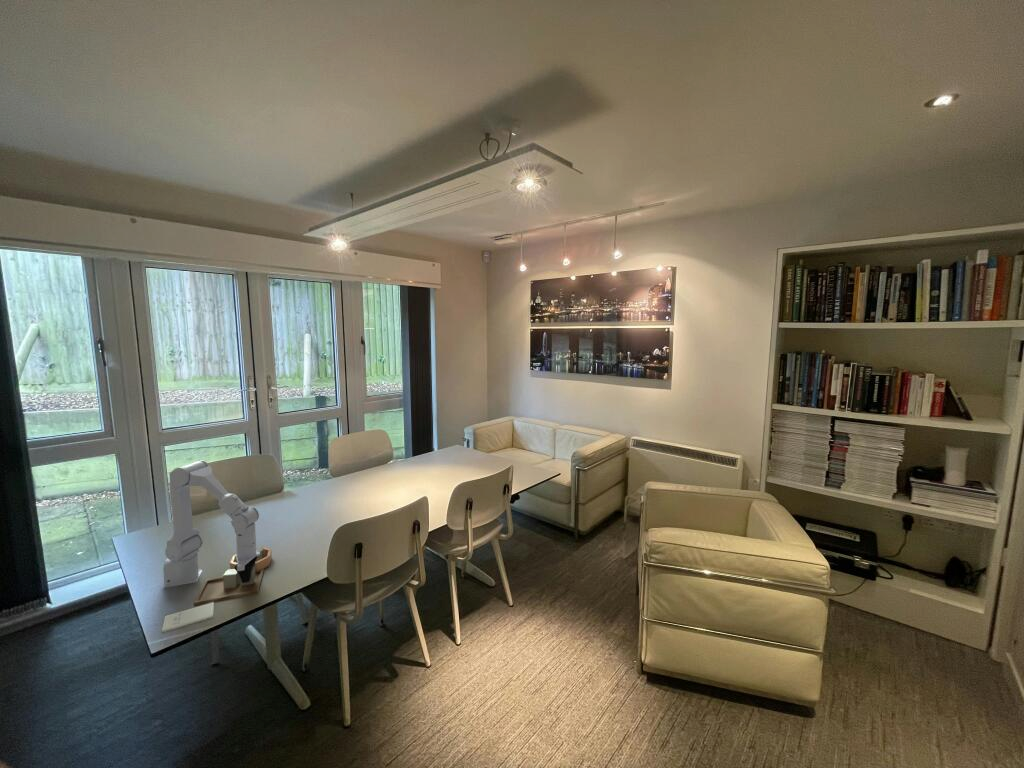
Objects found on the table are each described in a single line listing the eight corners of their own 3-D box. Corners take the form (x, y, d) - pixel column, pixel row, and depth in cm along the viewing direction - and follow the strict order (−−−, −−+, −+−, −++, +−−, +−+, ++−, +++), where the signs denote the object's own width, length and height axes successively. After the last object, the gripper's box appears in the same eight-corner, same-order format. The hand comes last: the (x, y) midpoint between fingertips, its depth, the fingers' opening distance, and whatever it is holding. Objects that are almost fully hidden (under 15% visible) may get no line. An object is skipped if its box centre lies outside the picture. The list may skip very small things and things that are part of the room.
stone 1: (223, 588, 142) (222, 575, 141) (228, 582, 145) (227, 569, 144) (236, 587, 142) (235, 574, 142) (240, 581, 146) (240, 568, 145)
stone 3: (250, 564, 156) (249, 552, 156) (252, 560, 159) (251, 548, 159) (262, 562, 158) (261, 550, 157) (263, 558, 161) (263, 546, 160)
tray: (194, 606, 133) (193, 602, 132) (205, 583, 145) (205, 579, 145) (257, 594, 140) (257, 590, 140) (263, 572, 152) (263, 569, 152)
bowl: (228, 578, 148) (227, 568, 148) (235, 560, 160) (235, 550, 159) (268, 571, 153) (268, 561, 153) (272, 554, 165) (272, 545, 165)
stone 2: (239, 585, 142) (239, 572, 141) (242, 580, 145) (242, 567, 145) (252, 584, 143) (252, 570, 143) (255, 578, 147) (255, 565, 146)
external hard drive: (213, 620, 127) (162, 635, 120) (214, 605, 134) (165, 619, 127) (213, 615, 127) (161, 630, 120) (214, 601, 134) (165, 614, 127)
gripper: (253, 551, 137) (254, 588, 139) (264, 531, 151) (265, 565, 152) (229, 554, 135) (230, 592, 136) (242, 534, 148) (243, 568, 150)
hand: (247, 578), depth 144 cm, fingers closed on stone 2, 3 cm apart
